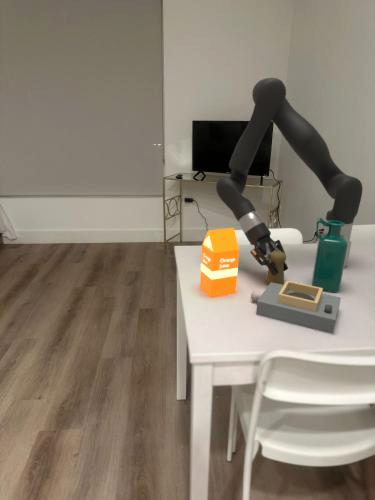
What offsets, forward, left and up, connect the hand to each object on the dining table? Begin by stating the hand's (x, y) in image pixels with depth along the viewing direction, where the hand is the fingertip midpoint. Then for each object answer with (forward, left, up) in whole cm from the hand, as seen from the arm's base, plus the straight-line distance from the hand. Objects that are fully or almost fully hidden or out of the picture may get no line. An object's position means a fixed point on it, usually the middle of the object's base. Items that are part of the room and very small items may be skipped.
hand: (281, 272), depth 116 cm
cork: (+1, -2, -5) cm, 5 cm away
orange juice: (+21, -4, -5) cm, 22 cm away
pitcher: (-13, +5, -5) cm, 15 cm away
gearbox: (+7, +15, -5) cm, 17 cm away
